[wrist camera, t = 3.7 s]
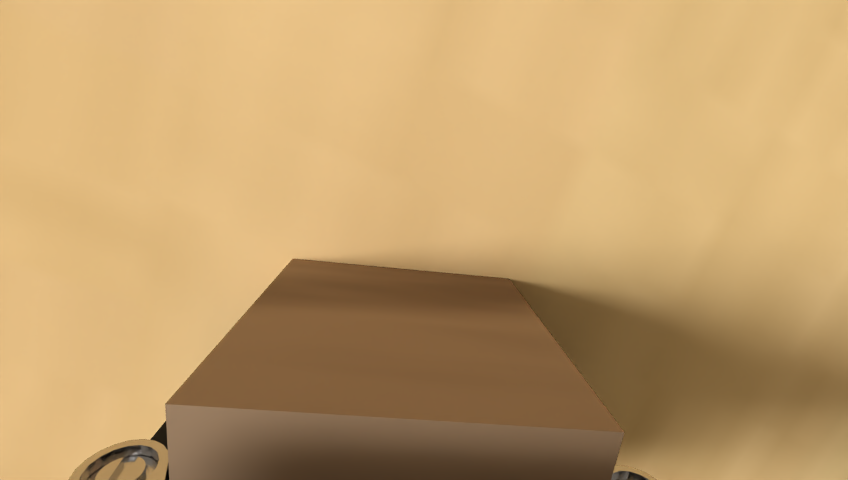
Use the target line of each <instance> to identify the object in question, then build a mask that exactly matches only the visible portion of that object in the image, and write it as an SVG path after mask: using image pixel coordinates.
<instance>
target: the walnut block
mask: <svg viewBox="0 0 848 480" xmlns="http://www.w3.org/2000/svg"><path fill="white" fill-rule="evenodd" d="M165 407H166V426H167V445H168V464H169V480H611V478H612V474H613V471H614V467H615V464H616V460H617V457H618V453H619V450H620V446H621V443H622V439H623V436H624V431H623V430H622V428H621V427H620V426H619V424H618V423H617V422H616V420H615V419H614V418H613V416H612V415H611V414H610V412H609V411H608V410H607V408H606V407H605V406H604V404H603V403H602V402H601V400H600V399H599V398H598V396H597V395H596V394H595V392H594V391H593V390H592V388H591V387H590V386H589V384H588V383H587V382H586V380H585V379H584V378H583V376H582V375H581V374H580V372H579V371H578V370H577V368H576V367H575V366H574V364H573V363H572V362H571V360H570V359H569V358H568V356H567V355H566V354H565V352H564V351H563V350H562V348H561V347H560V346H559V344H558V343H557V342H556V340H555V339H554V338H553V336H552V335H551V334H550V332H549V331H548V330H547V328H546V327H545V326H544V324H543V323H542V322H541V320H540V319H539V318H538V316H537V315H536V314H535V312H534V311H533V310H532V308H531V307H530V306H529V304H528V303H527V302H526V300H525V299H524V298H523V296H522V295H521V294H520V292H519V291H518V290H517V288H516V287H515V286H514V284H513V283H512V282H511V280H510V279H505V278H494V277H483V276H472V275H462V274H451V273H440V272H429V271H418V270H408V269H397V268H386V267H375V266H364V265H353V264H343V263H332V262H321V261H310V260H299V259H292V260H291V262H290V263H289V264H288V265H287V266H286V267H285V268H284V269H283V271H282V272H281V273H280V274H279V275H278V276H277V277H276V279H275V280H274V281H273V282H272V283H271V284H270V285H269V287H268V288H267V289H266V290H265V291H264V292H263V293H262V295H261V296H260V297H259V298H258V299H257V300H256V301H255V303H254V304H253V305H252V306H251V307H250V308H249V309H248V311H247V312H246V313H245V314H244V315H243V316H242V317H241V318H240V320H239V321H238V322H237V323H236V324H235V325H234V326H233V328H232V329H231V330H230V331H229V332H228V333H227V334H226V336H225V337H224V338H223V339H222V340H221V341H220V342H219V344H218V345H217V346H216V347H215V348H214V349H213V350H212V352H211V353H210V354H209V355H208V356H207V357H206V358H205V360H204V361H203V362H202V363H201V364H200V365H199V366H198V367H197V369H196V370H195V371H194V372H193V373H192V374H191V375H190V377H189V378H188V379H187V380H186V381H185V382H184V383H183V385H182V386H181V387H180V388H179V389H178V390H177V391H176V393H175V394H174V395H173V396H172V397H171V398H170V399H169V401H168V402H167V403H166V404H165Z"/></svg>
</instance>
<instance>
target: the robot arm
mask: <svg viewBox="0 0 848 480" xmlns="http://www.w3.org/2000/svg"><path fill="white" fill-rule="evenodd" d="M69 480H169V464H168V445H167V426H166V421H165V423H164V424H163V425H162V426H161V428H160V429H159V430H158V431H157V432H156V434H155V435H154V436H153V437H152V438H151V440H147V439H139V440H129V441H125V442H122V443H118V444H114V445H112V446H110V447H107V448H105V449H103V450H101V451H99V452H97V453H96V454H94V455H92V456H91V457H89V458H88V459H86V460H85V461H84V462H83V463H82V464H81V465H80V466H78V467H77V468H76V469H75V471H74V472H73V474H72V475H71V477H70V478H69ZM611 480H657V479H655V478H654V477H652V476H650V475H649V474H647V473H645V472H643V471H641V470H638V469H636V468H633V467H629V466H624V465H615V467H614V471H613V474H612V478H611Z"/></svg>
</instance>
